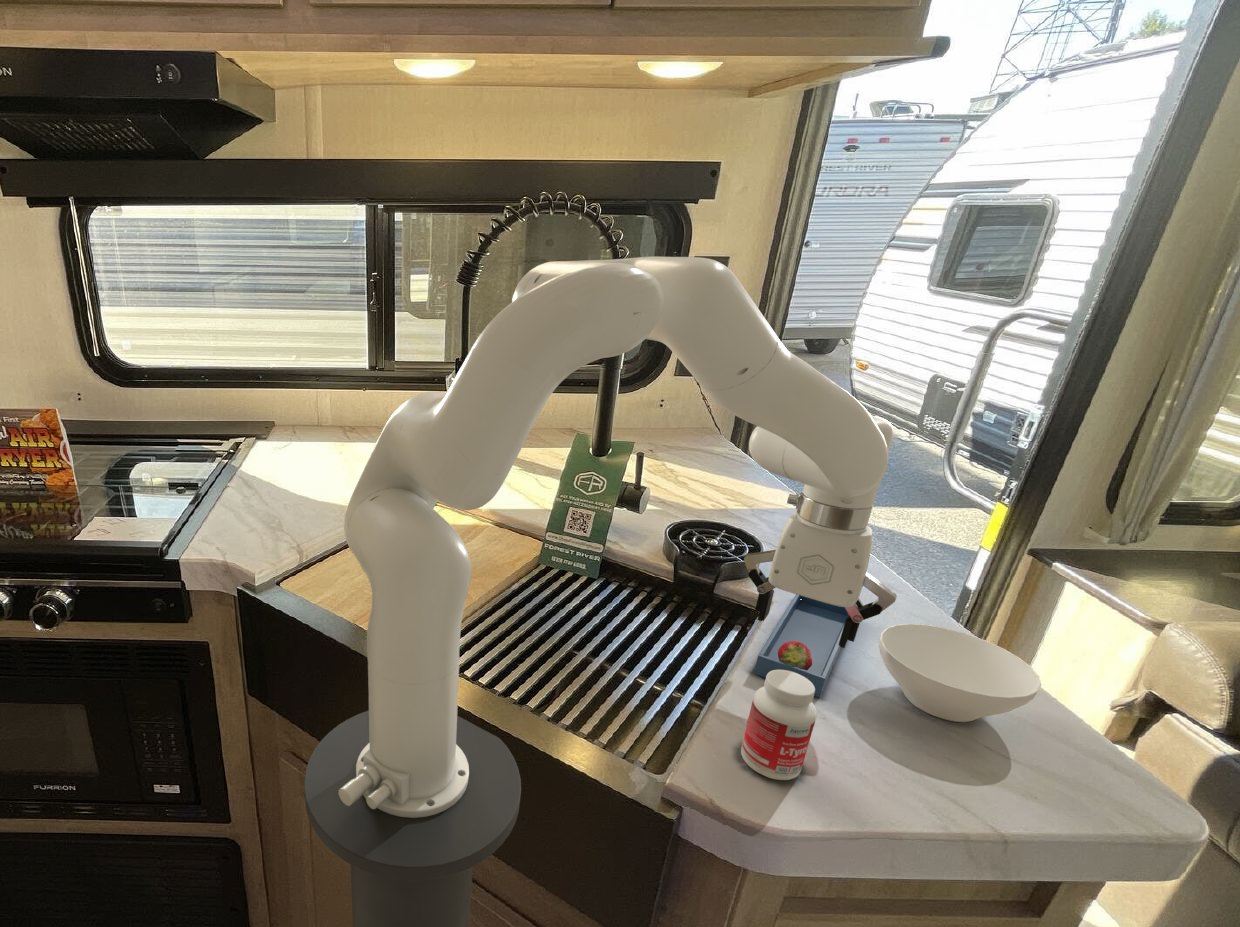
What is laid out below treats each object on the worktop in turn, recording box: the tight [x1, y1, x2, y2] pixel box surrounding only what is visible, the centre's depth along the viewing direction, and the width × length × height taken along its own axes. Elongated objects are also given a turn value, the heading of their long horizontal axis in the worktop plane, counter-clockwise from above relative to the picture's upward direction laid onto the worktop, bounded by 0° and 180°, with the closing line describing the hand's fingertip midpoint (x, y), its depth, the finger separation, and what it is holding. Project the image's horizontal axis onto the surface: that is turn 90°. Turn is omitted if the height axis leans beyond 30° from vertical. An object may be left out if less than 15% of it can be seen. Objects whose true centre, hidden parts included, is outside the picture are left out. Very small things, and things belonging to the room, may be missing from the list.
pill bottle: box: [740, 670, 818, 781], centre depth 73 cm, size 6×6×11 cm
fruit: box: [778, 641, 812, 671], centre depth 90 cm, size 4×6×5 cm
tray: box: [753, 594, 848, 699], centre depth 97 cm, size 26×8×3 cm, turn 139°
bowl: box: [878, 623, 1042, 723], centre depth 84 cm, size 16×16×7 cm
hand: (801, 629), depth 89 cm, fingers open, 9 cm apart
